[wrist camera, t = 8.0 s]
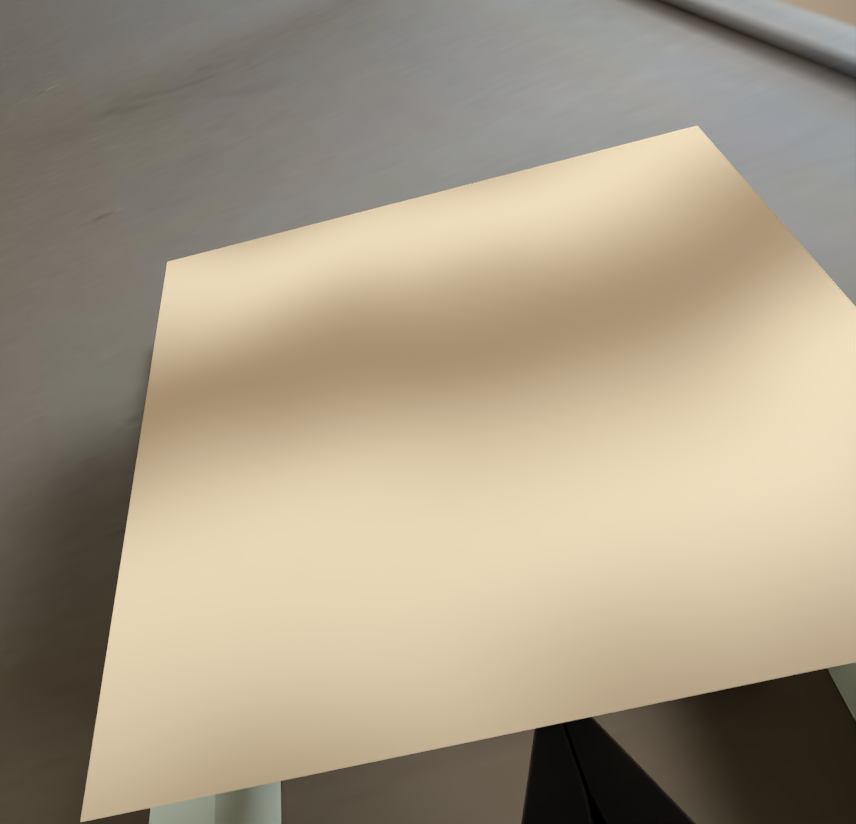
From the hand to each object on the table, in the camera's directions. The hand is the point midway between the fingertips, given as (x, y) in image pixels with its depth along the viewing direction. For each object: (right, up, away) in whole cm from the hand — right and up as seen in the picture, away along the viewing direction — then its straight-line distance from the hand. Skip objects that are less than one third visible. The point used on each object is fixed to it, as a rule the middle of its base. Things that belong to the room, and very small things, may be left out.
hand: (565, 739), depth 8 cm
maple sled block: (0, +1, +9) cm, 9 cm away
